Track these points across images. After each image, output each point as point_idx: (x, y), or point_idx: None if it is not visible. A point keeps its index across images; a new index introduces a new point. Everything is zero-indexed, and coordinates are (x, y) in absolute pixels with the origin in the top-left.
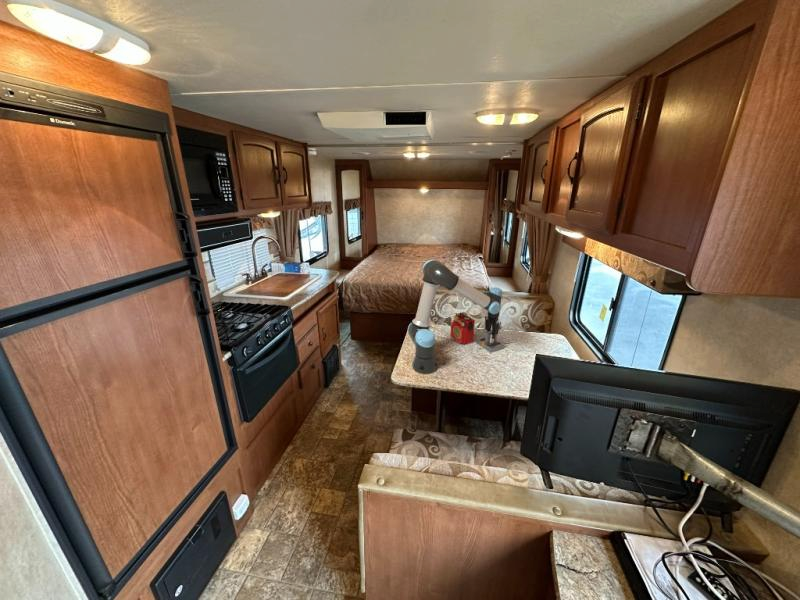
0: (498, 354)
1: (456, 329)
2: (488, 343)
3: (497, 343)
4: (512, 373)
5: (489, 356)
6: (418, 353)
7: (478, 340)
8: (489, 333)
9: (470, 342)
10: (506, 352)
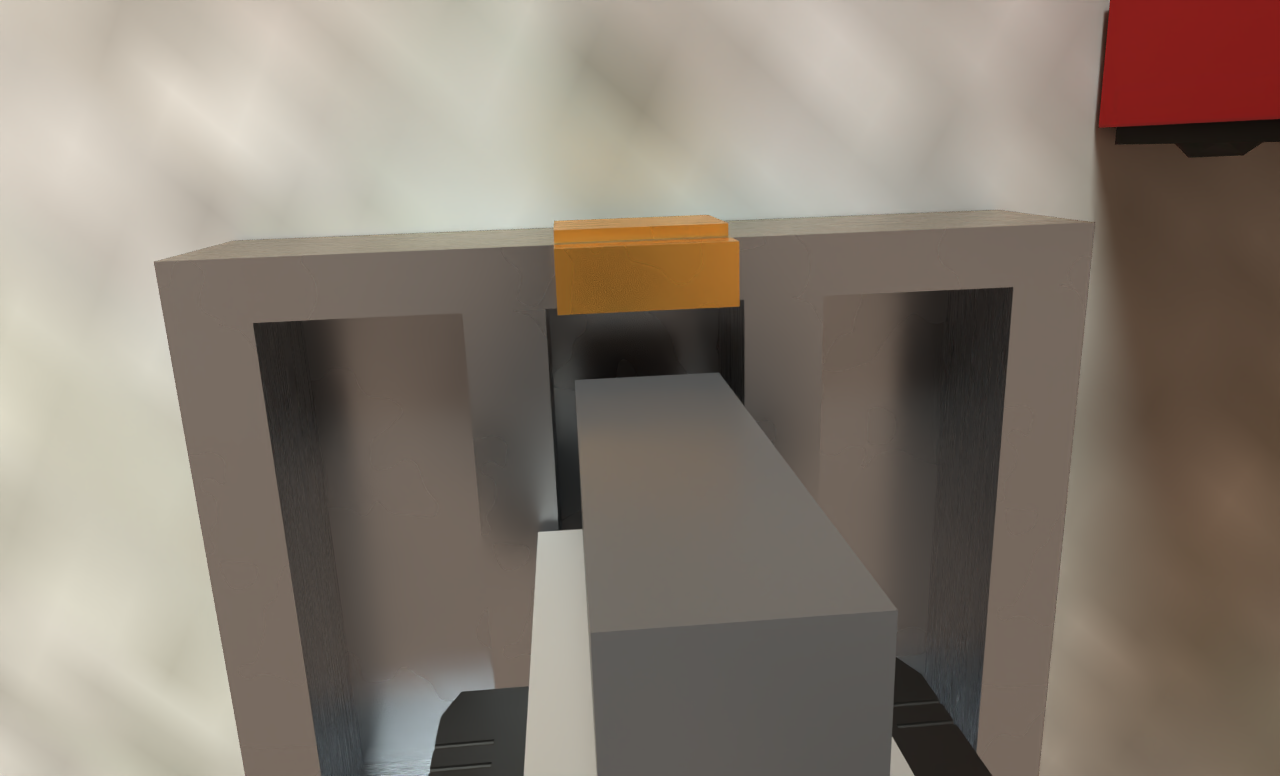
0: (49, 414)
1: None
2: None
3: None
4: None
5: (24, 23)
6: None
7: (957, 227)
8: (595, 740)
9: (1118, 19)
10: (79, 713)
